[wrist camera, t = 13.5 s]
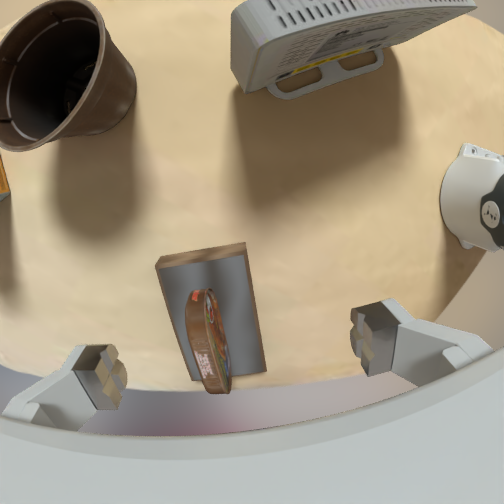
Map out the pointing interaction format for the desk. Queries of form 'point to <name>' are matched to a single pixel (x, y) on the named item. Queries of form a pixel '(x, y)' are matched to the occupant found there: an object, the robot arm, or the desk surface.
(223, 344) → the tin
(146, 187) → the desk surface
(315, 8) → the network device
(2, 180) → the hard drive box
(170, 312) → the plinth
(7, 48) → the plant pot
